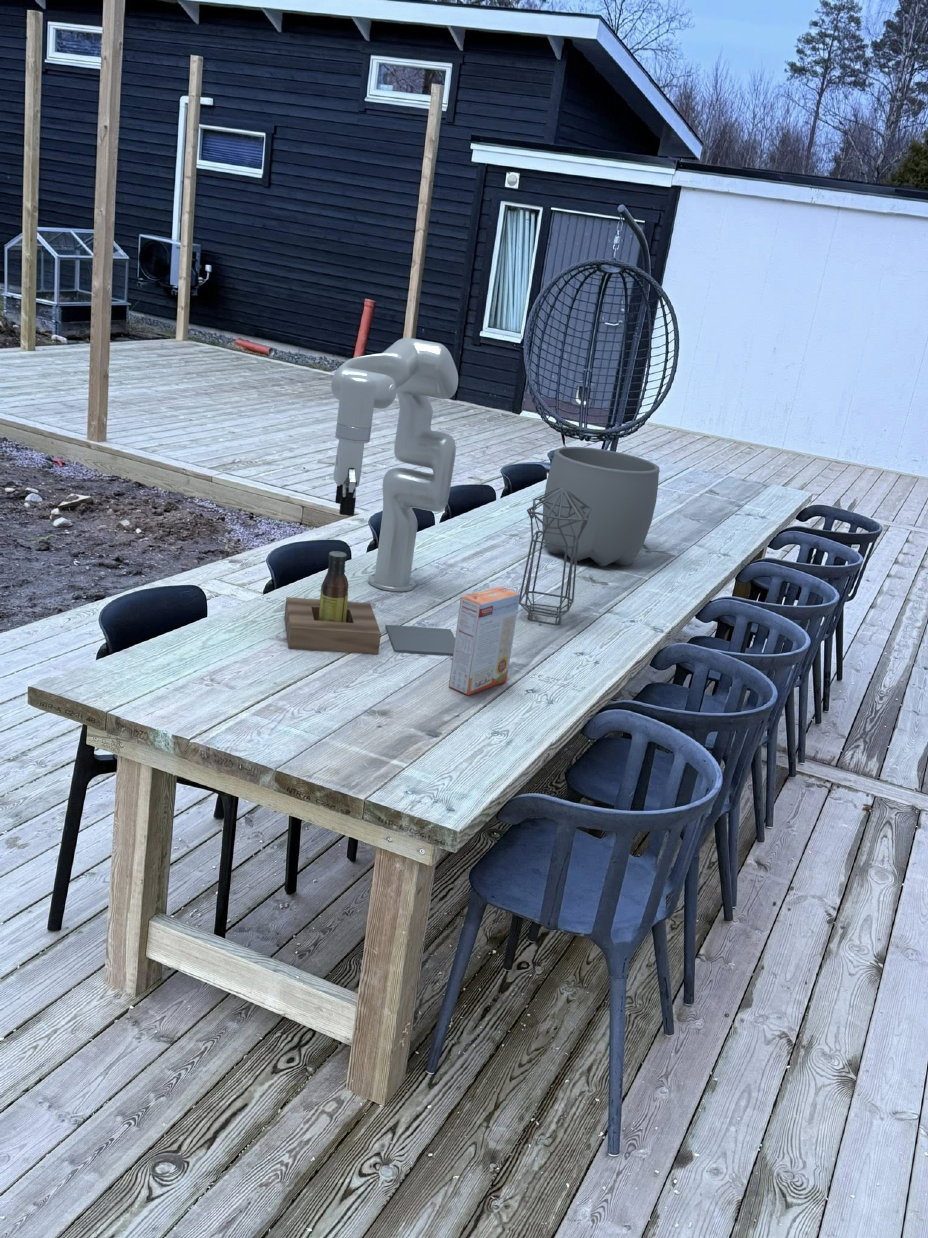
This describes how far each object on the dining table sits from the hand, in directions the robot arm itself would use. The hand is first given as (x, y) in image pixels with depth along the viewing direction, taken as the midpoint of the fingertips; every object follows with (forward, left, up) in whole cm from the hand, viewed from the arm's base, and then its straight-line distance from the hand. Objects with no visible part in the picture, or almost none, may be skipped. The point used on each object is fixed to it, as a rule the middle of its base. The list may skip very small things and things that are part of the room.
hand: (344, 509), depth 250 cm
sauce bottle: (0, 0, -30) cm, 30 cm away
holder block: (0, 0, -30) cm, 30 cm away
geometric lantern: (-23, +57, -30) cm, 69 cm away
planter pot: (-86, +90, -30) cm, 128 cm away
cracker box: (+24, +30, -30) cm, 49 cm away
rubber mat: (0, +22, -30) cm, 37 cm away
